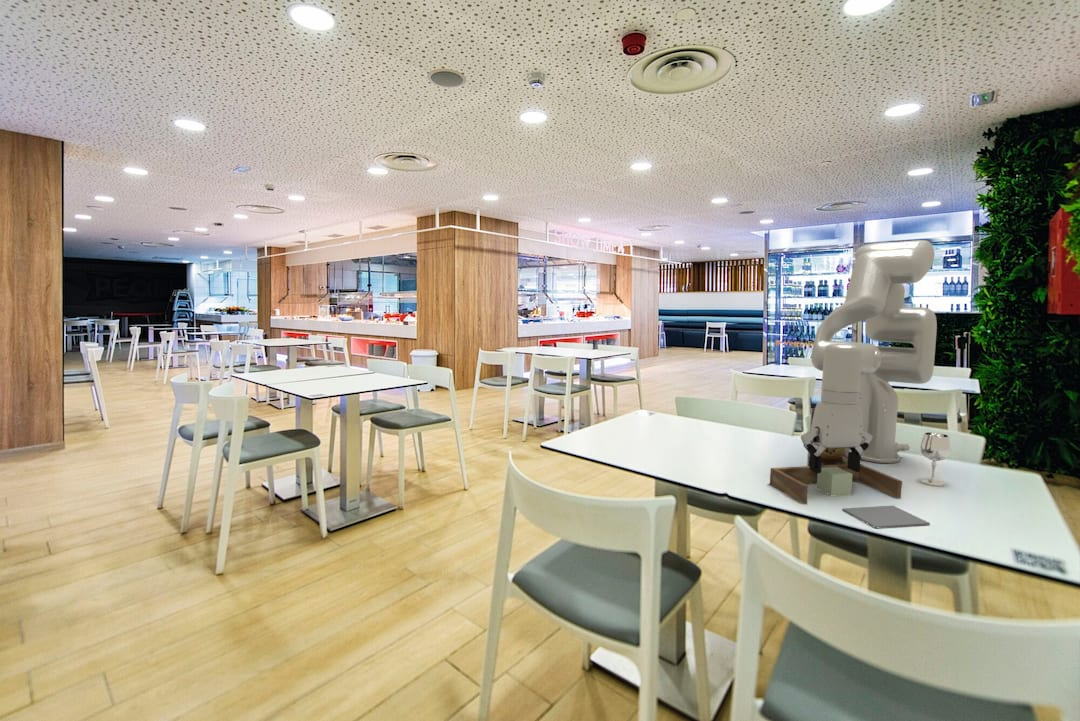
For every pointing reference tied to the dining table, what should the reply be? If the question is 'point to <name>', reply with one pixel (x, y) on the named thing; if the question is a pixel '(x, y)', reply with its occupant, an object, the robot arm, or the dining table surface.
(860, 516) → the grey mat
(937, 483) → the wineglass
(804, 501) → the open wooden frame
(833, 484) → the sage block
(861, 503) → the dining table surface
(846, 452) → the coffee box
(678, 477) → the dining table surface
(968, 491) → the dining table surface
